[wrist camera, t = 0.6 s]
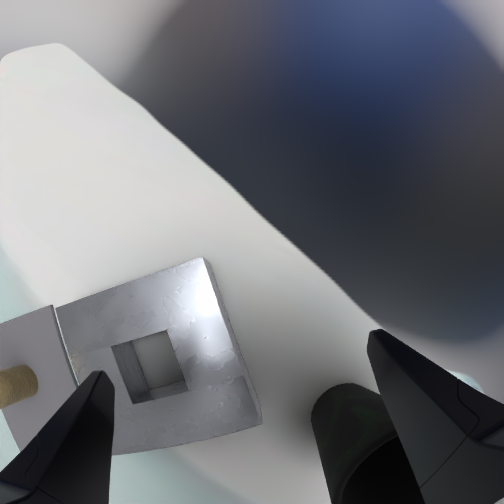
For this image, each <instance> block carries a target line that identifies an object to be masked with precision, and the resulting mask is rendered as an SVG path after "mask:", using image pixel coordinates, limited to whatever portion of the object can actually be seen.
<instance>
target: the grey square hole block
mask: <svg viewBox="0 0 504 504" xmlns="http://www.w3.org/2000/svg"><path fill="white" fill-rule="evenodd" d="M56 312H57V316H58V320H59V323H60V327H61V330H62V334H63V337H64V341H65V344H66V347H67V350H68V353H69V356H70V359H71V362H72V365H73V368H74V371H75V374H76V376H77V379H78V382H79V384H81V383H82V382H83V381H84V380H85V379H86V378H87V377H88V376H89V374H90V373H91V372H92V371H94V370H104V371H105V372H106V374H107V375H108V377H109V378H110V380H111V381H112V383H113V385H114V388H115V415H114V436H113V446H112V455H121V454H129V453H136V452H143V451H150V450H156V449H162V448H167V447H172V446H178V445H183V444H187V443H192V442H197V441H201V440H206V439H210V438H214V437H218V436H222V435H226V434H230V433H233V432H237V431H240V430H244V429H248V428H251V427H254V426H258V425H261V424H262V417H261V408H260V403H259V401H258V398H257V395H256V393H255V390H254V387H253V385H252V382H251V379H250V377H249V374H248V371H247V369H246V366H245V363H244V361H243V358H242V355H241V352H240V350H239V347H238V344H237V341H236V338H235V336H234V333H233V330H232V327H231V324H230V321H229V319H228V316H227V313H226V310H225V307H224V304H223V301H222V298H221V295H220V292H219V289H218V287H217V284H216V281H215V278H214V275H213V272H212V269H211V265H210V263H209V262H208V261H207V260H206V259H204V258H203V257H200V258H197V259H194V260H191V261H188V262H185V263H182V264H180V265H177V266H174V267H171V268H168V269H165V270H162V271H159V272H156V273H154V274H151V275H148V276H145V277H142V278H139V279H136V280H134V281H131V282H128V283H125V284H122V285H119V286H116V287H114V288H111V289H108V290H105V291H102V292H99V293H97V294H94V295H91V296H88V297H85V298H83V299H80V300H77V301H74V302H71V303H69V304H66V305H63V306H60V307H57V308H56ZM164 330H167V332H168V335H169V338H170V341H171V344H172V346H173V349H174V352H175V355H176V357H177V360H178V363H179V366H180V368H181V371H182V373H183V376H184V379H185V381H181V382H178V383H174V384H170V385H166V386H162V387H158V388H154V389H150V390H149V388H148V386H147V383H146V380H145V378H144V375H143V373H142V370H141V367H140V365H139V362H138V359H137V356H136V354H135V351H134V348H133V345H132V342H131V340H135V339H138V338H141V337H145V336H148V335H151V334H155V333H158V332H161V331H164Z"/></svg>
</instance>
